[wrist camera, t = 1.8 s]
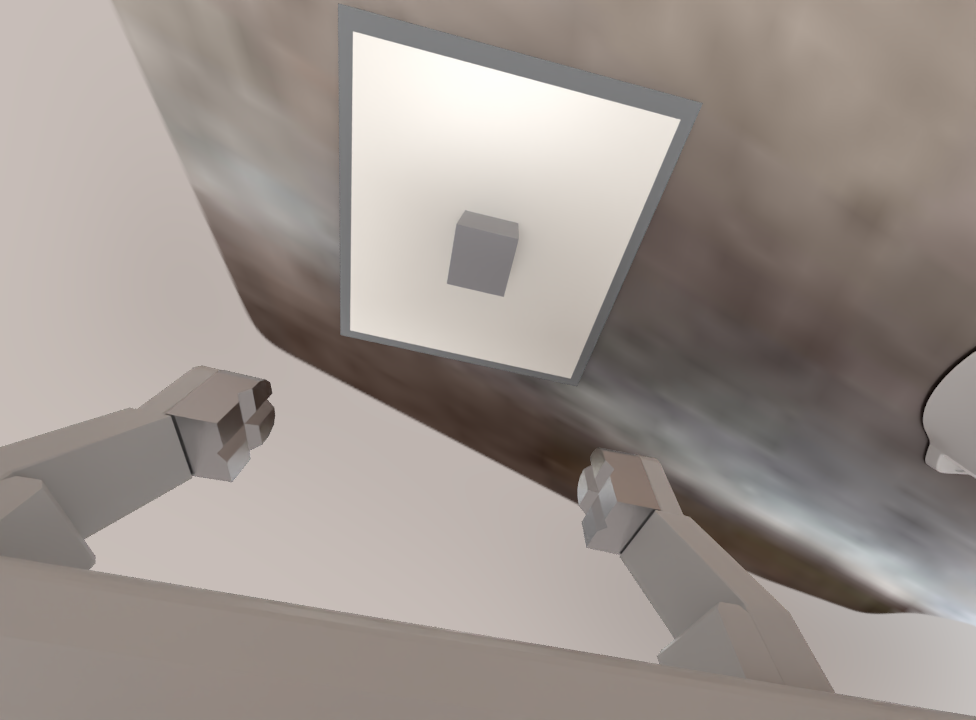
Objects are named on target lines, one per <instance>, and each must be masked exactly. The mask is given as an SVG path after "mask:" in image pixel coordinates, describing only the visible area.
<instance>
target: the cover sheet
mask: <svg viewBox="0 0 976 720" xmlns="http://www.w3.org/2000/svg"><path fill="white" fill-rule="evenodd" d="M679 123H680V119H676V118H672V117H669V116H665V115H661V114H658V113H654V112H650V111H647V110H643V109H639V108H635V107H632V106H628V105H624V104H621V103H617V102H613V101H609V100H606V99H602V98H598V97H595V96H591V95H587V94H584V93H580V92H576V91H572V90H569V89H565V88H561V87H558V86H554V85H550V84H546V83H543V82H539V81H535V80H532V79H528V78H524V77H520V76H517V75H513V74H509V73H506V72H502V71H498V70H495V69H491V68H487V67H483V66H480V65H476V64H472V63H469V62H465V61H461V60H457V59H454V58H450V57H446V56H443V55H439V54H435V53H432V52H428V51H424V50H420V49H417V48H413V47H409V46H406V45H402V44H398V43H394V42H391V41H387V40H383V39H380V38H376V37H372V36H369V35H365V34H361V33H357V32H354V31H353V78H352V185H351V292H350V330H351V331H355V332H360V333H364V334H369V335H373V336H378V337H383V338H387V339H392V340H396V341H401V342H405V343H410V344H415V345H419V346H424V347H428V348H433V349H437V350H442V351H447V352H451V353H456V354H460V355H465V356H469V357H474V358H479V359H483V360H488V361H492V362H497V363H501V364H506V365H511V366H515V367H520V368H524V369H529V370H533V371H538V372H543V373H547V374H552V375H556V376H561V377H565V378H570V379H571V377H572V374H573V372H574V370H575V367H576V365H577V363H578V360H579V358H580V355H581V353H582V351H583V348H584V346H585V344H586V341H587V339H588V337H589V334H590V332H591V330H592V327H593V325H594V323H595V320H596V318H597V315H598V313H599V311H600V308H601V306H602V304H603V301H604V299H605V297H606V294H607V292H608V290H609V287H610V285H611V283H612V280H613V278H614V275H615V273H616V271H617V268H618V266H619V264H620V261H621V259H622V257H623V254H624V252H625V250H626V247H627V245H628V243H629V240H630V238H631V235H632V233H633V231H634V228H635V226H636V224H637V221H638V219H639V217H640V214H641V212H642V210H643V207H644V205H645V203H646V200H647V198H648V195H649V193H650V191H651V188H652V186H653V184H654V181H655V179H656V177H657V174H658V172H659V170H660V167H661V165H662V163H663V160H664V158H665V155H666V153H667V151H668V148H669V146H670V144H671V141H672V139H673V137H674V134H675V132H676V130H677V127H678V125H679Z"/></svg>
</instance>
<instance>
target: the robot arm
mask: <svg viewBox="0 0 976 720" xmlns="http://www.w3.org/2000/svg"><path fill="white" fill-rule="evenodd" d="M271 394H272V390H271V384H270V382H269V381H267V380H265V379H260V378H256V377H252V376H247V375H243V374H239V373H234V372H230V371H225V370H219V369H215V368H210V367H206V366H198V367H194V368H192V369H191V370H189V371H188V372H187V373H185V374H184V375H183V376H181V377H180V378H179V379H177V380H176V381H174V382H173V383H172V384H171V385H169V386H168V387H166V388H165V389H164V390H162V391H161V392H160V393H158V394H157V395H156V396H154V397H153V398H151V399H150V400H149V401H147V402H146V403H145V404H143V405H142V406H141V407H139V408H138V409H133V408H127V409H124V410H120V411H117V412H114V413H110V414H107V415H105V416H101V417H98V418H94V419H91V420H88V421H84V422H81V423H78V424H74V425H71V426H68V427H65V428H61V429H58V430H55V431H52V432H48V433H45V434H42V435H38V436H35V437H32V438H29V439H25V440H22V441H19V442H16V443H13V444H9V445H6V446H2V447H0V720H976V717H975V716H969V715H963V714H957V713H951V712H945V711H939V710H933V709H927V708H921V707H915V706H909V705H903V704H897V703H891V702H885V701H879V700H873V699H866V698H861V697H854V696H849V695H843V694H836V693H835V692H834V690H833V688H832V686H831V685H830V683H829V681H828V679H827V678H826V676H825V674H824V673H823V671H822V669H821V667H820V665H819V663H818V662H817V660H816V658H815V656H814V655H813V653H812V651H811V649H810V648H809V646H808V644H807V643H806V641H805V639H804V637H803V635H802V634H801V632H800V630H799V629H798V627H797V625H796V623H795V621H794V620H793V618H792V616H791V614H790V613H789V612H788V611H787V610H786V609H785V608H784V607H783V606H782V605H781V604H780V603H779V602H778V601H777V600H776V599H775V598H774V597H773V596H772V595H770V593H768V592H767V591H766V590H765V589H764V588H763V587H762V586H761V585H760V584H759V583H758V582H757V581H756V580H755V579H754V578H753V577H752V576H751V575H750V574H749V573H748V572H747V571H746V570H745V569H744V568H742V567H741V566H740V565H739V564H738V563H737V562H736V561H735V560H734V559H733V558H732V557H731V556H730V555H729V554H728V553H727V552H726V551H725V550H724V549H723V548H722V547H721V546H720V545H719V544H717V543H716V542H715V541H714V540H713V539H712V538H711V537H710V536H709V535H708V534H707V533H706V532H705V531H704V530H703V529H702V528H701V527H700V526H699V525H698V524H697V523H696V522H695V521H694V520H692V519H691V518H690V517H688V516H684V515H683V513H682V511H681V509H680V506H679V504H678V502H677V500H676V497H675V495H674V493H673V491H672V488H671V486H670V484H669V482H668V479H667V477H666V475H665V473H664V470H663V468H662V466H661V464H660V462H659V461H658V460H657V459H656V458H651V457H646V456H640V455H634V454H629V453H624V452H619V451H614V450H608V449H603V448H597V449H596V450H594V452H593V453H592V455H591V457H590V459H591V464H592V465H591V466H589V467H587V468H585V469H584V470H583V472H582V474H581V476H580V478H579V483H578V503H579V506H580V508H581V509H582V510H583V511H584V513H585V514H586V516H585V517H584V519H583V521H582V526H583V531H584V537H585V542H586V547H587V548H591V549H595V550H600V551H605V552H609V553H614V554H619V555H620V558H621V559H622V561H623V562H624V564H625V565H626V567H627V568H628V570H629V571H630V573H631V574H632V576H633V577H634V579H635V580H636V581H637V583H638V585H639V586H640V588H641V589H642V591H643V592H644V594H645V595H646V597H647V598H648V600H649V601H650V603H651V604H652V605H653V607H654V609H655V610H656V612H657V613H658V615H659V616H660V618H661V619H662V620H663V622H664V623H665V625H666V626H667V628H668V629H669V631H670V633H671V634H672V635H673V637H674V640H673V641H672V642H671V643H670V644H668V645H667V646H666V647H665V648H664V649H662V650H661V652H660V653H659V654H658V656H657V657H658V661H659V664H654V663H648V662H642V661H636V660H630V659H624V658H618V657H612V656H606V655H600V654H594V653H588V652H581V651H575V650H570V649H564V648H558V647H552V646H546V645H540V644H533V643H527V642H522V641H515V640H509V639H503V638H497V637H491V636H485V635H479V634H473V633H467V632H461V631H455V630H449V629H443V628H437V627H430V626H425V625H419V624H413V623H407V622H401V621H394V620H389V619H383V618H376V617H370V616H364V615H358V614H352V613H346V612H340V611H334V610H328V609H322V608H316V607H310V606H304V605H298V604H292V603H286V602H280V601H274V600H268V599H262V598H256V597H249V596H243V595H237V594H231V593H225V592H219V591H212V590H207V589H201V588H194V587H189V586H182V585H176V584H171V583H165V582H158V581H152V580H146V579H140V578H134V577H128V576H122V575H116V574H110V573H104V572H97V571H92V570H89V569H90V568H91V567H92V566H93V565H94V564H95V555H94V553H93V552H92V550H91V549H90V548H89V546H88V545H87V543H86V542H85V540H84V539H85V538H87V537H89V536H91V535H93V534H95V533H96V532H98V531H100V530H101V529H103V528H105V527H107V526H108V525H110V524H112V523H114V522H116V521H117V520H119V519H121V518H123V517H124V516H126V515H128V514H130V513H131V512H133V511H135V510H137V509H138V508H140V507H142V506H144V505H145V504H147V503H149V502H151V501H153V500H154V499H156V498H158V497H160V496H161V495H163V494H165V493H167V492H168V491H170V490H172V489H174V488H175V487H177V486H179V485H180V484H182V483H184V482H186V481H188V480H189V479H191V478H192V476H197V477H203V478H209V479H216V480H223V481H228V482H233V480H234V479H235V478H236V477H237V475H238V474H239V473H240V472H241V470H242V469H243V468H244V466H245V465H246V464H247V463H248V462H249V460H250V450H252V449H254V448H256V447H258V446H260V445H262V444H263V442H264V441H265V440H266V439H267V438H268V436H269V434H270V432H271V430H272V427H273V425H274V419H275V411H274V407H273V406H272V404H271V403H270V402H269V401H268V400H267V399H268V397H269V396H270V395H271ZM923 425H924V429H925V431H926V433H927V435H928V437H929V440H930V445H929V448H928V451H927V454H926V457H925V462H926V464H928V465H929V466H931V467H932V468H934V469H935V470H936V471H938V472H941V473H950V474H967V475H971V476H973V477H974V478H976V351H975V352H974V353H973V354H971V355H970V356H968V357H967V358H966V359H965V360H963V361H962V362H961V363H960V364H959V365H957V366H956V367H955V368H954V369H953V370H952V371H951V372H950V373H949V374H948V375H947V376H946V377H945V378H944V379H943V380H942V381H941V382H940V384H939V385H938V386H937V387H936V389H935V390H934V392H933V393H932V395H931V396H930V398H929V400H928V402H927V404H926V407H925V410H924V414H923Z"/></svg>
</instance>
